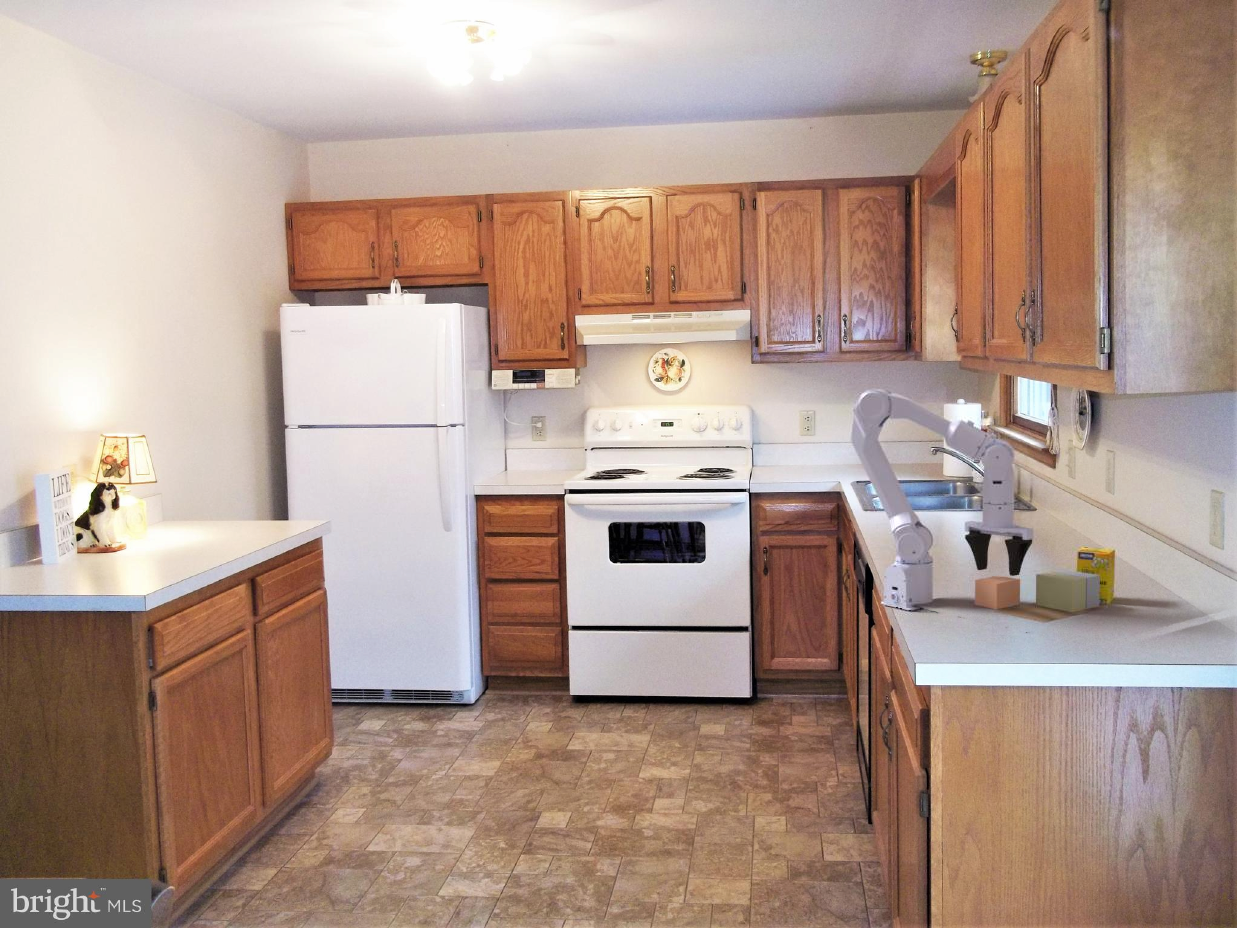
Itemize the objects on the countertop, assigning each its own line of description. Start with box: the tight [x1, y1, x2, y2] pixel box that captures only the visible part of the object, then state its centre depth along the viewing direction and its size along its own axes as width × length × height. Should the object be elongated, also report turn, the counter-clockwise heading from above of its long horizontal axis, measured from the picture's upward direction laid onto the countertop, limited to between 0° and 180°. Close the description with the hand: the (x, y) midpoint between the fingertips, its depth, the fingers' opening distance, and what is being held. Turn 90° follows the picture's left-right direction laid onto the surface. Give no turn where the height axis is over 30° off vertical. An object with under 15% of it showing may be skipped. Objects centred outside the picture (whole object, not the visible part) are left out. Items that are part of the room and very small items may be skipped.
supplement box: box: [1076, 546, 1116, 605], centre depth 216 cm, size 6×6×11 cm
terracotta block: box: [974, 575, 1021, 610], centre depth 214 cm, size 7×5×6 cm
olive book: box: [1035, 571, 1086, 612], centre depth 210 cm, size 4×8×6 cm, turn 33°
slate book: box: [1050, 568, 1100, 609], centre depth 213 cm, size 4×8×6 cm, turn 33°
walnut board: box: [993, 601, 1109, 623], centre depth 209 cm, size 20×11×1 cm, turn 123°
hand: (998, 572), depth 214 cm, fingers open, 7 cm apart
